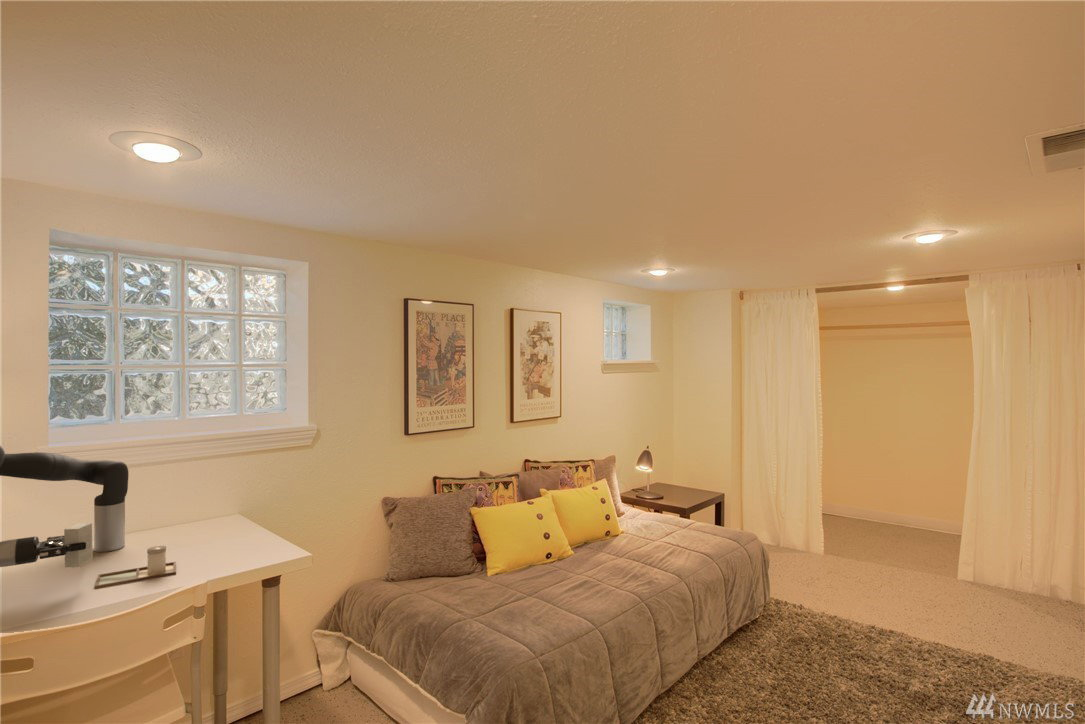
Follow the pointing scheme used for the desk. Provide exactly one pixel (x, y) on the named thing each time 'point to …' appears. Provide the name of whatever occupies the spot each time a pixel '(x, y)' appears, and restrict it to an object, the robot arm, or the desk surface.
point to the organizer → (131, 576)
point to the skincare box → (77, 535)
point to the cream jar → (156, 560)
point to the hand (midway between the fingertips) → (87, 541)
